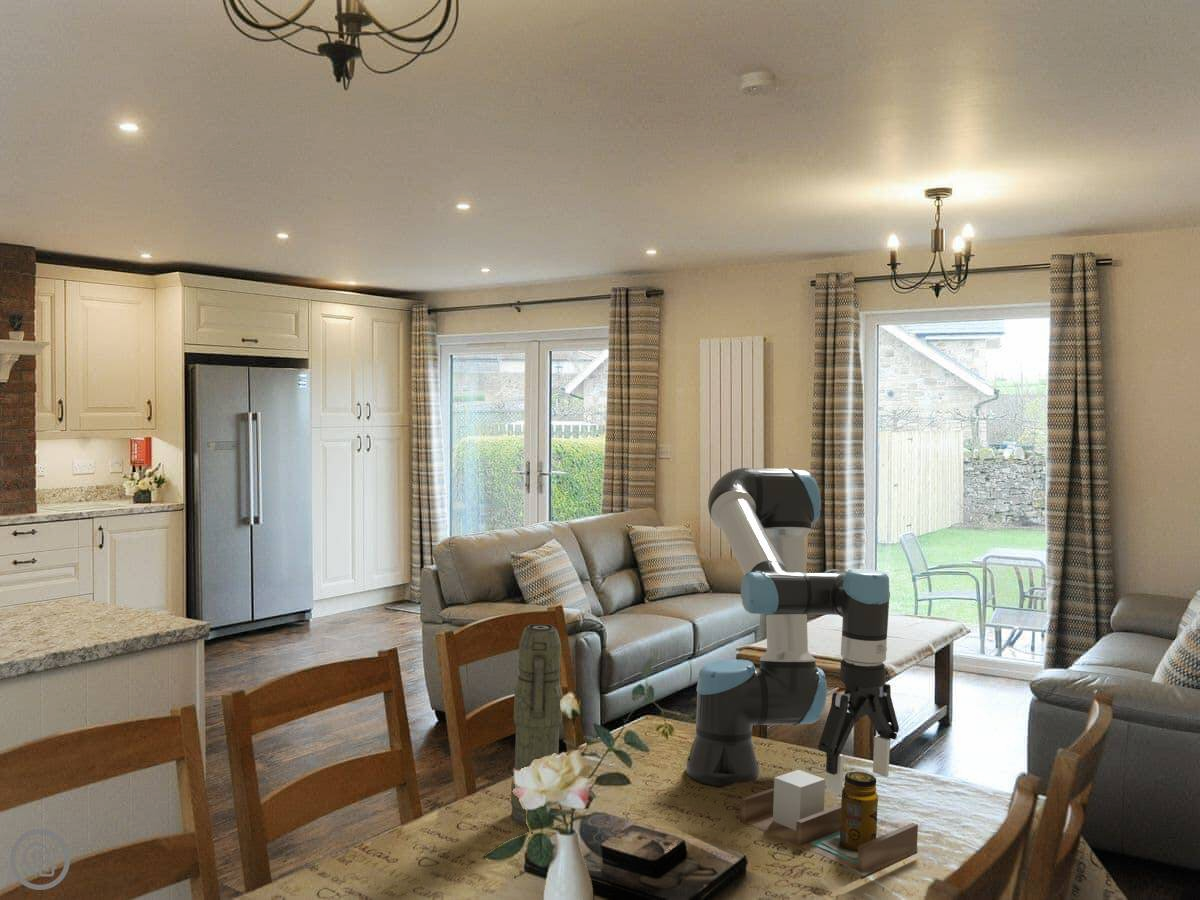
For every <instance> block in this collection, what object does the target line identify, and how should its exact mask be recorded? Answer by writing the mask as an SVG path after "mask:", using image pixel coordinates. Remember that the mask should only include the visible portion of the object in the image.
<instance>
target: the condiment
mask: <svg viewBox="0 0 1200 900" xmlns="http://www.w3.org/2000/svg"><path fill="white" fill-rule="evenodd" d="M878 798H879V795H878V793H877V779H876V776H874V775H872V774H871V773H868V772H862V771H849V772H847V773H846V774H845V775H844V782H843V788H842V794H841V824H840V837H834V838H832V839H829V840H824V841H821V842H822V843H824V844H825V845H827V846H829V847H831V848H832V849H834V850H836V851H838V852H839V853H843V854H845V855H846V856H849V857H851V858H853V859H854V858H857V857H858V846H860V845H862V844H864V843H867V842H869V841H871V840H874V839H876V835H877V832H878V831H877V829H878V824H877V823H878V803H879V799H878Z"/></svg>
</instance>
